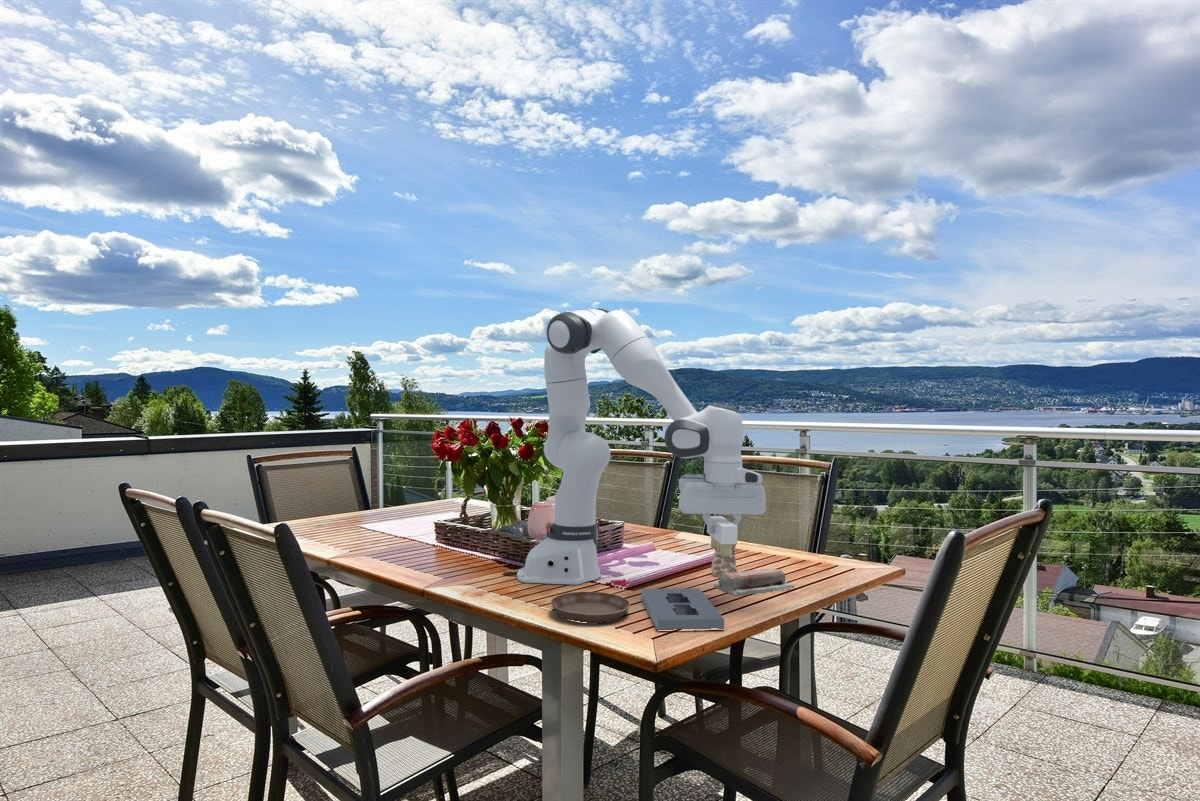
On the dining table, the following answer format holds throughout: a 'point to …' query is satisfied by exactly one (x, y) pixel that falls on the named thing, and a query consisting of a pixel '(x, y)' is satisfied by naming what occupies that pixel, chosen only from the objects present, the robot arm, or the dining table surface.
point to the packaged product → (753, 582)
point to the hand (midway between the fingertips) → (721, 533)
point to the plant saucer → (590, 606)
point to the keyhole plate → (681, 609)
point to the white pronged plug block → (723, 535)
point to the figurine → (723, 563)
